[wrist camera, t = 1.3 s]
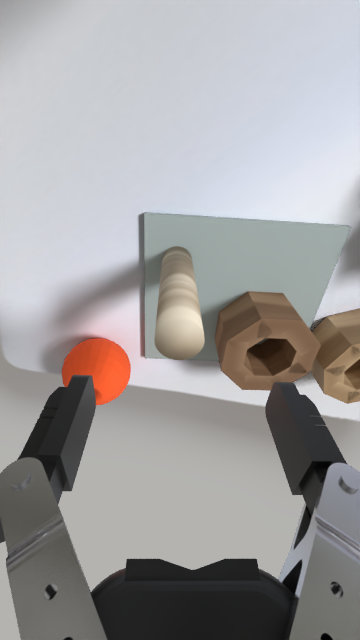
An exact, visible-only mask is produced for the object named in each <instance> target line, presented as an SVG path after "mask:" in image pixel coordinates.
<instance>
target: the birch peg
mask: <svg viewBox="0 0 360 640" xmlns="http://www.w3.org/2000/svg"><path fill="white" fill-rule="evenodd" d="M204 342H205V338H204V331H203V325H202V319H201V312H200V306H199V300H198V293H197V287H196V281H195V274H194V268H193V262H192V256H191V254H190V253H189V251H188V250H186V249H185V248H183V247H179V246H175V247H171V248H169V249H168V250H166V251H165V253H164V254H163V257H162V265H161V275H160V286H159V296H158V307H157V317H156V328H155V338H154V343H155V346H156V348H157V350H158V351H159V352H160V353H161V354H162V355H163V356H165V357H167V358H170V359H174V360H184V359H188V358H191V357H193V356H195V355H196V354H198V353H199V352H200V351H201V349H202V348H203V346H204Z"/></svg>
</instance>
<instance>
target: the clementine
mask: <svg viewBox="0 0 360 640" xmlns="http://www.w3.org/2000/svg"><path fill="white" fill-rule="evenodd" d="M73 375H92V377H93V384H94V390H95V397H96V405H102V404H105V403H108V402H110V401H111V400H113V399H115V398H117V397H118V396H119V395H120V394H121V393H122V391H123V390H124V389H125V388H126V386H127V384H128V381H129V378H130V362H129V359H128V356H127V354H126V353H125V351H124V350H123V349H122V348H121V347H120V346H119V345H118V344H116V343H114V342H112V341H110V340H107V339H101V338H95V339H89V340H86V341H83V342H81V343H80V344H78V345H77V346H75V347H74V348H73V349H72V350H71V351H70V353H69V354H68V355H67V357H66V358H65V361H64V365H63V368H62V378H63V384H64V386H65V387H67V386H68V384H69V382H70V380H71V377H72V376H73Z"/></svg>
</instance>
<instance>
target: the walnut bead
mask: <svg viewBox="0 0 360 640" xmlns="http://www.w3.org/2000/svg"><path fill="white" fill-rule="evenodd" d="M265 338H269V339H268V340H266V341H264V342H263V343H261V344H257V343H258V342H260V341H261V340H263V339H265ZM215 344H216V349H217V353H218V358H219V363H220V368H221V371H222V372H223V373H224V374H225V375H227V376H228V377H229V378H230V379H231V380H232V381H233V382H234V383H235V384H236V385H237V386H239V387H240V388H241V389H242V390H271V389H272V386H273V384H274V382H293V381H295V380H297V379H299V378H301V377H303V376H305V375H306V374H308V373H309V371H310V369H311V366H312V364H313V362H314V360H315V357H316V355H317V353H318V351H319V349H320V346H321V344H320V343H319V341H318V340H317V339H316V337H315V336H314V334H313V333H312V332H311V330H310V329H309V328H308V326H307V325H306V323H305V322H304V321H303V319H302V318H301V316H300V315H299V314H298V312H297V311H296V310H295V308H294V307H293V306H292V304H291V303H290V302H289V300H288V299H287V298H286V296H285V295H284V294H283V293H274V292H255V291H247V292H246V293H245V294H243V295H242V296H240V297H239V298H238V299H236V300H235V301H233V302H232V303H230V304H229V305H228V306H226V307H225V308H223V309H222V310H221V311H219V315H218V321H217V327H216V333H215Z"/></svg>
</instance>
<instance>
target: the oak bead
mask: <svg viewBox="0 0 360 640" xmlns="http://www.w3.org/2000/svg"><path fill="white" fill-rule="evenodd" d="M312 333H313V334H314V336H315V337H316V339H317V340H318V341H319V343H320V344H321V346H320V349H319V351H318V353H317V355H316V357H315V360H314V362H313V364H312V366H311V369H310V371H311V373H312V374H313V376H314V378H315V379H316V381H317V383H318V384H319V386H320V388H321V390H322V391H323V393H324V394H326V395H329V396H331V397H333V398H336V399H338V400H340V401H342V402H345V403H347V404H348V403H353V402H358V401H360V309H356V310H352V311H348V312H344V313H339V314H335V315H331V316H327V317H326V318H325V319H324V320H323V321H322V322H321V323H320V324H319V325H318V326H317V327H316V328H315V329H314V330H313V331H312Z"/></svg>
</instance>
